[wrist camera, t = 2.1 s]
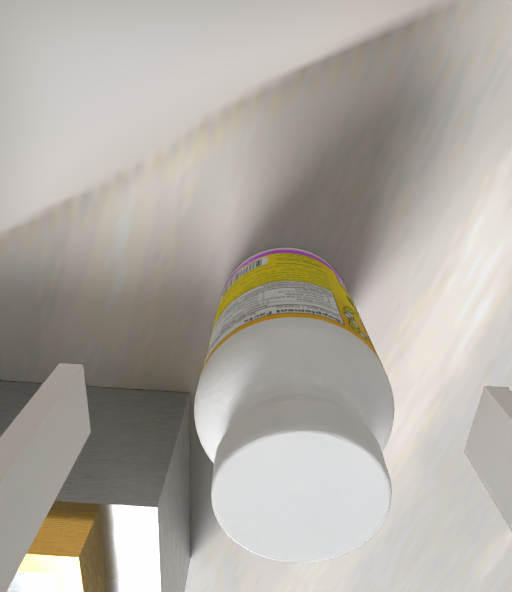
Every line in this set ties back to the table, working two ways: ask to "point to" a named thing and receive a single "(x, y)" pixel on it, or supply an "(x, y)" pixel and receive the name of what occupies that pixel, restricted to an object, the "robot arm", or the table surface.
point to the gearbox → (115, 497)
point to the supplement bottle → (294, 412)
